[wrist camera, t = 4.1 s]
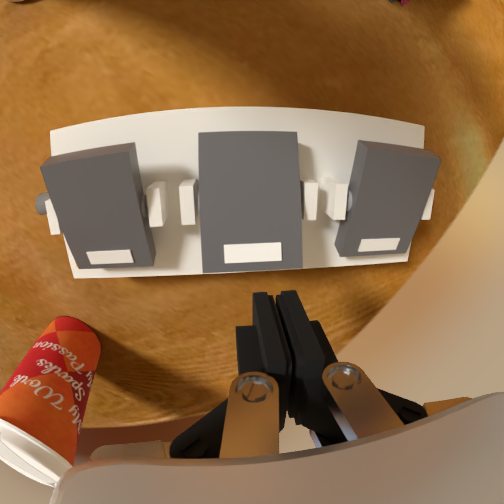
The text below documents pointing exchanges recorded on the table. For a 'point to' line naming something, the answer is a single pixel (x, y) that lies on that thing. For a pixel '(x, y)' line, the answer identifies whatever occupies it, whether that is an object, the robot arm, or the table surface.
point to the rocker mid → (249, 201)
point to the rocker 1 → (101, 206)
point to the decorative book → (403, 1)
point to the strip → (187, 176)
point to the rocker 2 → (385, 198)
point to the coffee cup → (48, 401)
